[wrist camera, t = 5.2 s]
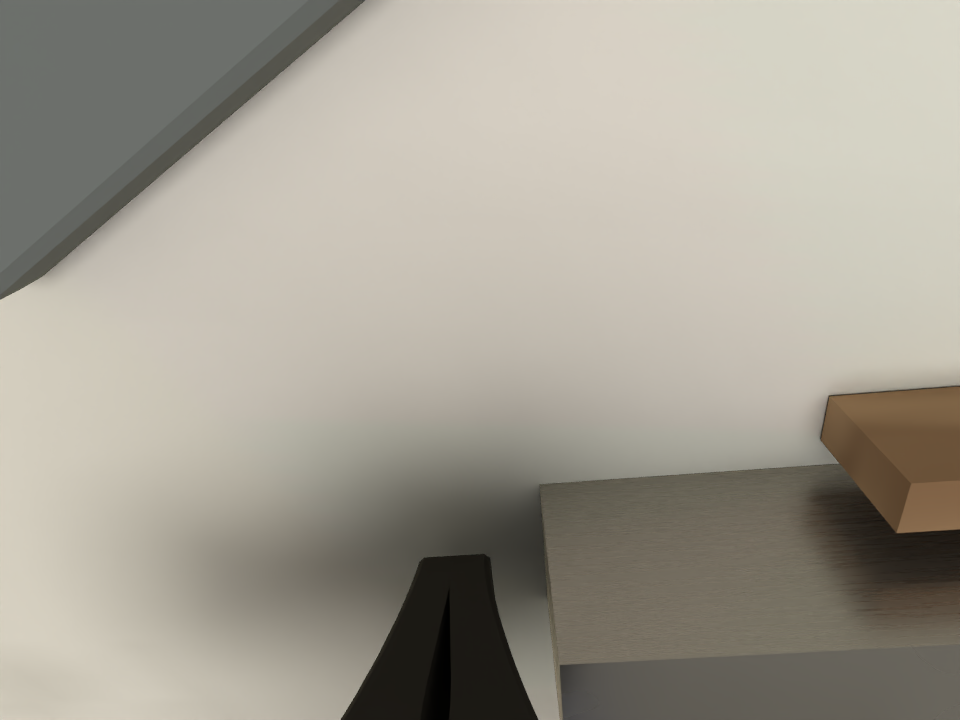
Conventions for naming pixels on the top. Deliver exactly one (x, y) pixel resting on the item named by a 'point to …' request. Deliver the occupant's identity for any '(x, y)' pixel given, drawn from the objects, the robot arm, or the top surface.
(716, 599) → the block
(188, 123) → the bracket
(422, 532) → the top surface
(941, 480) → the brown wooden bar
